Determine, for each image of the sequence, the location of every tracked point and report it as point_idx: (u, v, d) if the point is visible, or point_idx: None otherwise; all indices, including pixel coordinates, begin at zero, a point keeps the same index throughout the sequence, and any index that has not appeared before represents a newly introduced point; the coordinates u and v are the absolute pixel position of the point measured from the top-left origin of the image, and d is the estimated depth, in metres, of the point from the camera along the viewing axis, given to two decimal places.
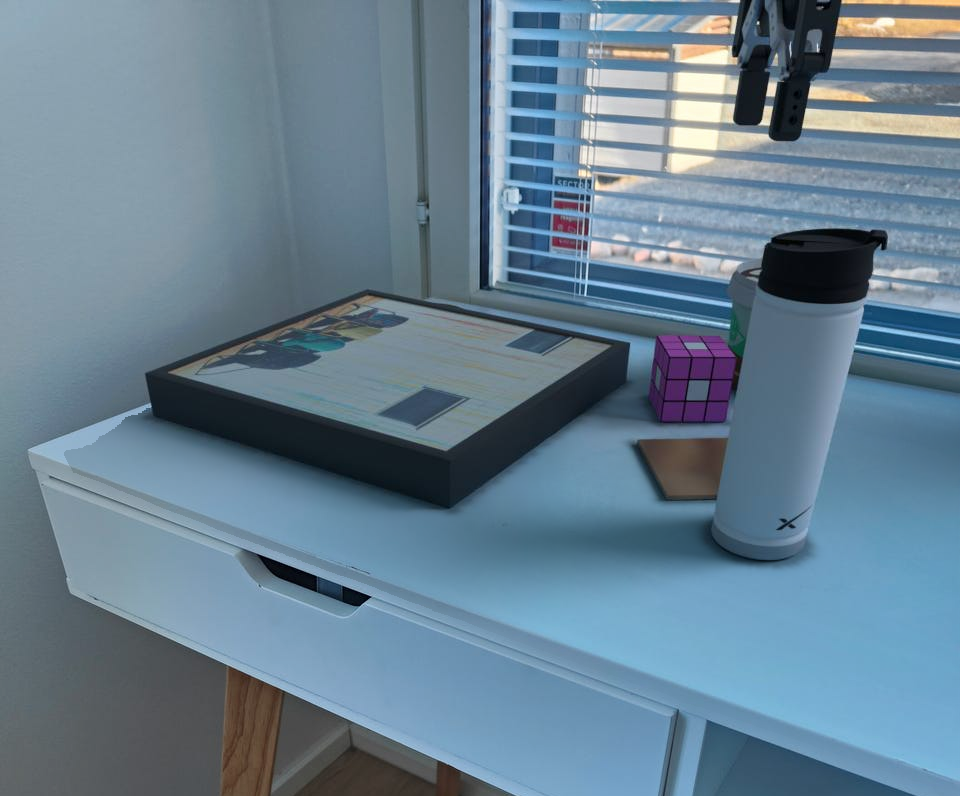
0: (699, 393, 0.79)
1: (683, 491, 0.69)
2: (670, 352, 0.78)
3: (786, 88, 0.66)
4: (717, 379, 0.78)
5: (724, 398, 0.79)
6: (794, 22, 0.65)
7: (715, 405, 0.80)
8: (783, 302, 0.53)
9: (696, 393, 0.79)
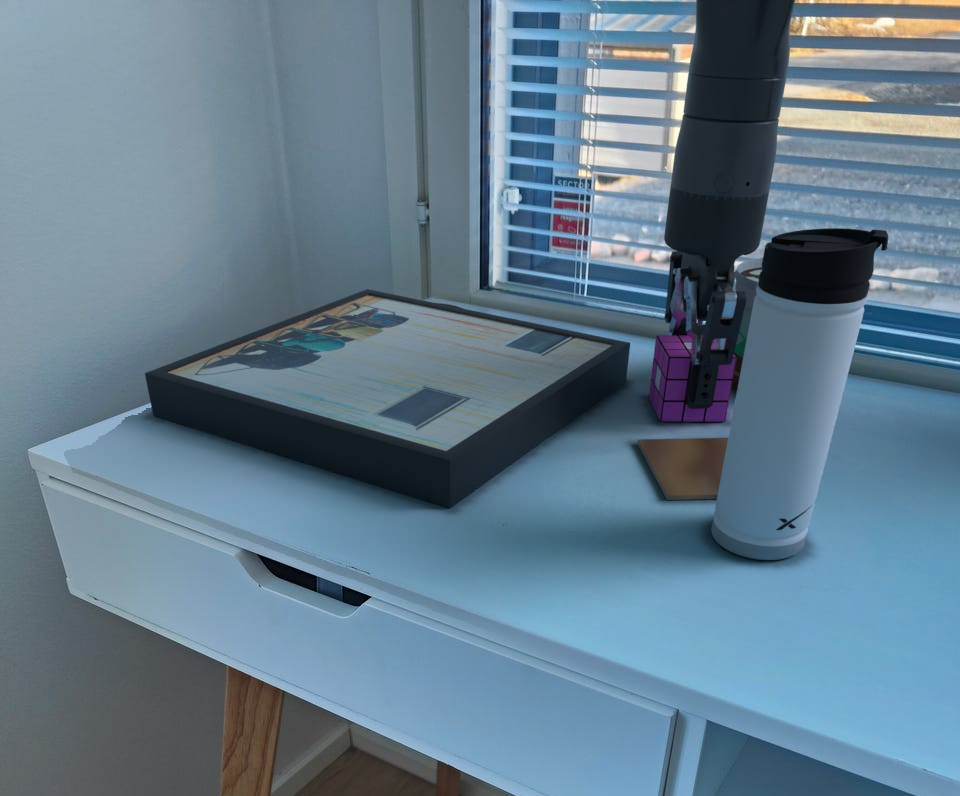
0: None
1: (683, 491, 0.69)
2: (670, 352, 0.78)
3: (698, 369, 0.77)
4: (717, 379, 0.78)
5: (724, 398, 0.79)
6: None
7: (715, 405, 0.80)
8: (783, 302, 0.53)
9: None
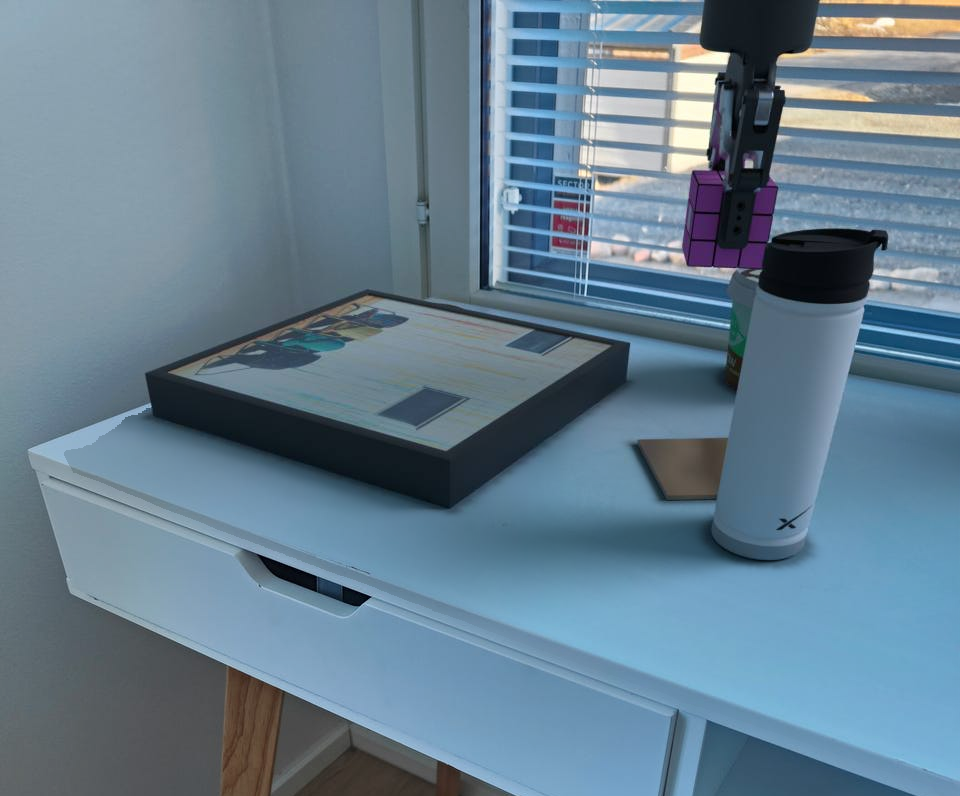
0: None
1: (683, 491, 0.69)
2: (701, 181, 0.68)
3: (730, 198, 0.66)
4: (754, 214, 0.67)
5: (762, 239, 0.68)
6: None
7: (752, 248, 0.69)
8: (783, 302, 0.53)
9: None
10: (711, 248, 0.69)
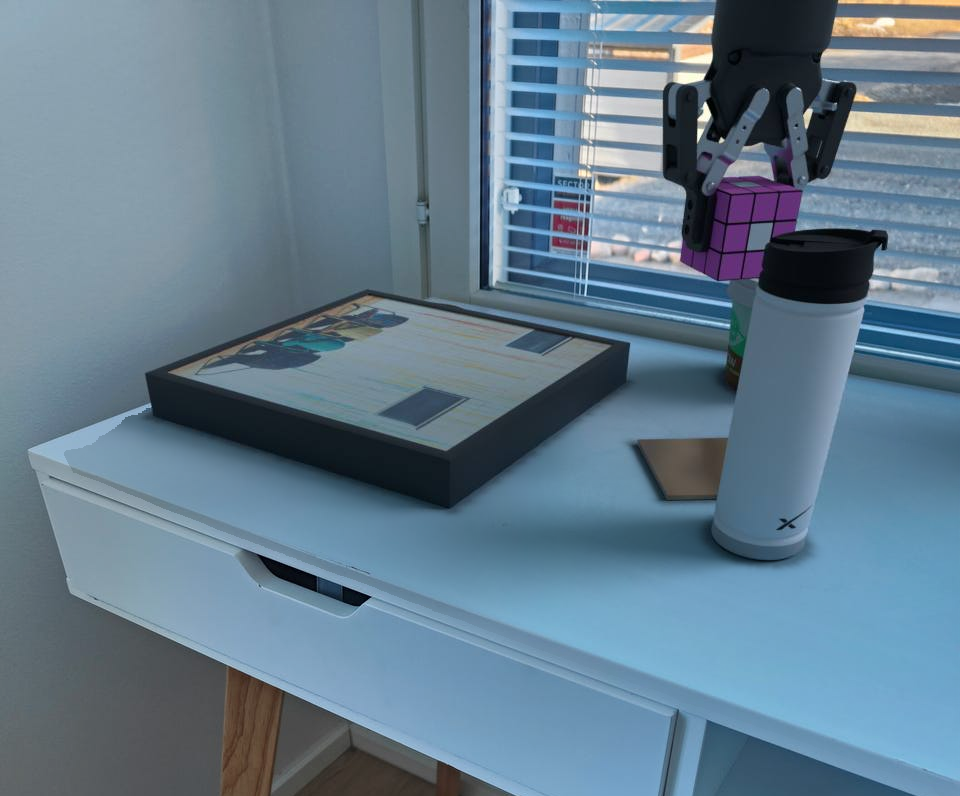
0: None
1: (683, 491, 0.69)
2: None
3: None
4: (716, 219, 0.65)
5: (718, 248, 0.65)
6: (719, 126, 0.63)
7: (712, 255, 0.66)
8: (783, 302, 0.53)
9: None
10: None
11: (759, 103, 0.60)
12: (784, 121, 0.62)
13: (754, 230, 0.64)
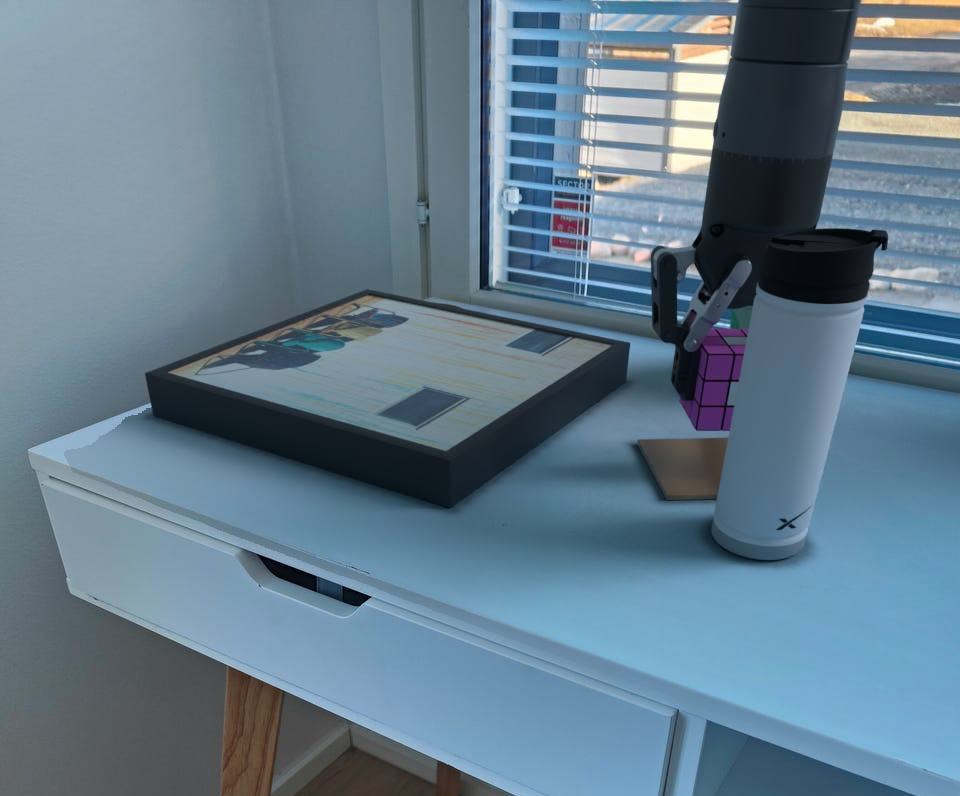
0: None
1: (683, 491, 0.69)
2: None
3: None
4: (699, 373, 0.67)
5: (698, 400, 0.67)
6: (707, 288, 0.65)
7: (694, 406, 0.68)
8: (783, 302, 0.53)
9: None
10: None
11: (740, 273, 0.62)
12: None
13: (734, 387, 0.66)
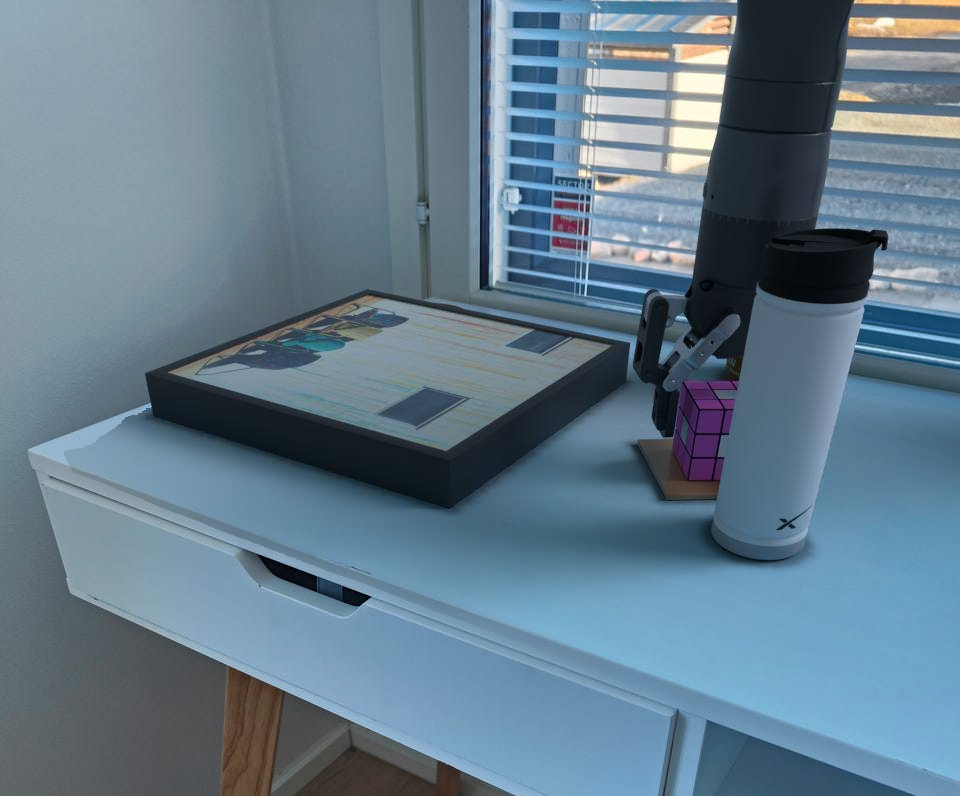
0: (684, 434, 0.71)
1: (683, 491, 0.69)
2: (697, 382, 0.71)
3: None
4: (690, 426, 0.69)
5: (690, 452, 0.69)
6: (698, 338, 0.67)
7: (686, 456, 0.70)
8: (783, 302, 0.53)
9: (683, 433, 0.71)
10: (678, 442, 0.73)
11: (729, 326, 0.64)
12: None
13: (725, 440, 0.68)
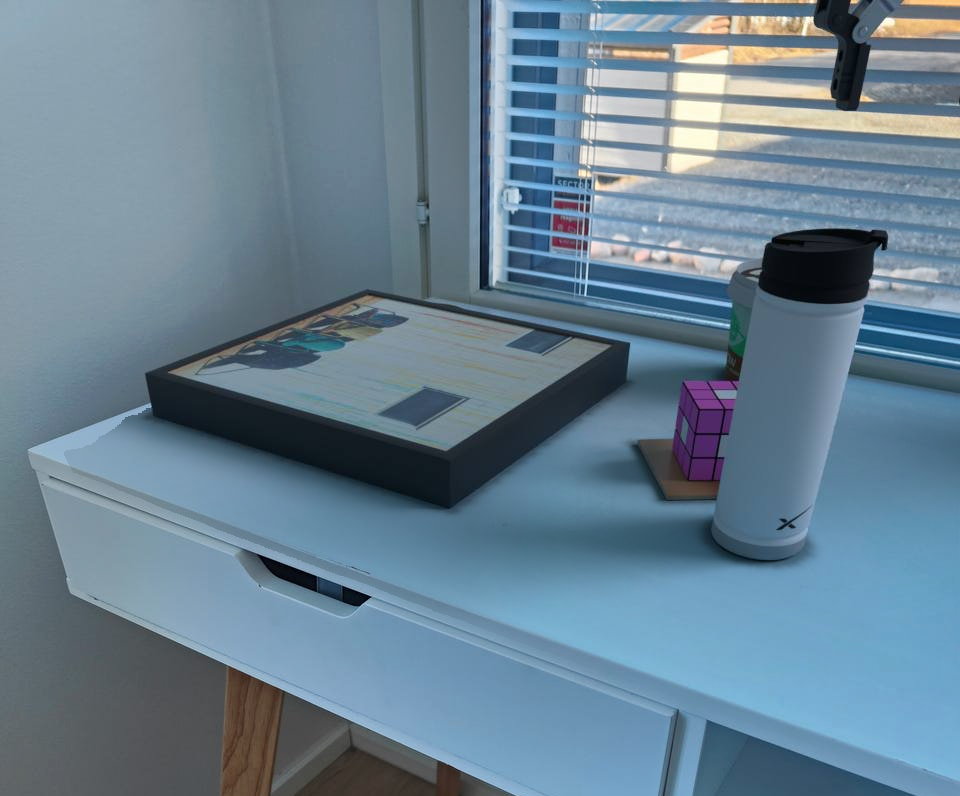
0: (684, 434, 0.71)
1: (683, 491, 0.69)
2: (697, 382, 0.71)
3: None
4: (690, 426, 0.69)
5: (690, 452, 0.69)
6: None
7: (686, 456, 0.70)
8: (783, 302, 0.53)
9: (683, 433, 0.71)
10: (678, 442, 0.73)
11: None
12: None
13: (725, 440, 0.68)
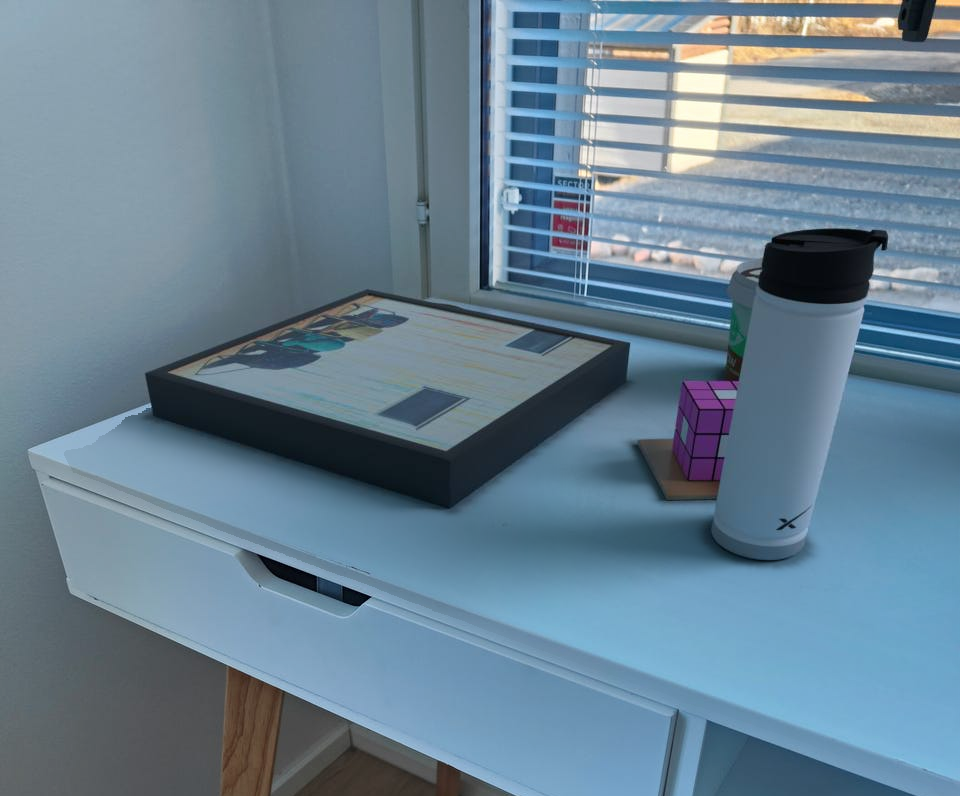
0: (684, 434, 0.71)
1: (683, 491, 0.69)
2: (697, 382, 0.71)
3: None
4: (690, 426, 0.69)
5: (690, 452, 0.69)
6: None
7: (686, 456, 0.70)
8: (783, 302, 0.53)
9: (683, 433, 0.71)
10: (678, 442, 0.73)
11: None
12: None
13: (725, 440, 0.68)
